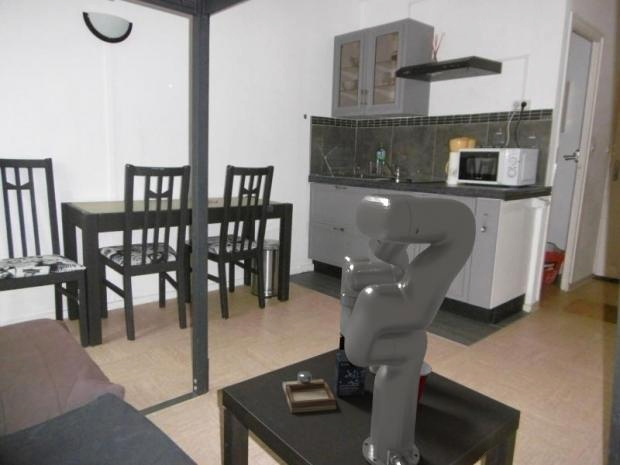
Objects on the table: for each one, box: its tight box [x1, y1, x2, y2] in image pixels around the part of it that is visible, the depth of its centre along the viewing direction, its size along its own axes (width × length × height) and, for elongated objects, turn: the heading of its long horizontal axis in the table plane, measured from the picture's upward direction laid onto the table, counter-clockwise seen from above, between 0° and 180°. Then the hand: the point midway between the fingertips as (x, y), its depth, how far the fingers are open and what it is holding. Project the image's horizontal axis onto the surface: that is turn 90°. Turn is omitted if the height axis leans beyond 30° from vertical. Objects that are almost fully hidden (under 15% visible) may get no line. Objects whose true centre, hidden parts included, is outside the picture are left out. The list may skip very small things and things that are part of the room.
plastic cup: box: [417, 360, 433, 408], centre depth 121 cm, size 11×11×12 cm
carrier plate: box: [281, 370, 337, 414], centre depth 124 cm, size 14×12×4 cm
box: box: [333, 352, 367, 398], centre depth 127 cm, size 8×6×11 cm
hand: (349, 357), depth 127 cm, fingers open, 9 cm apart
